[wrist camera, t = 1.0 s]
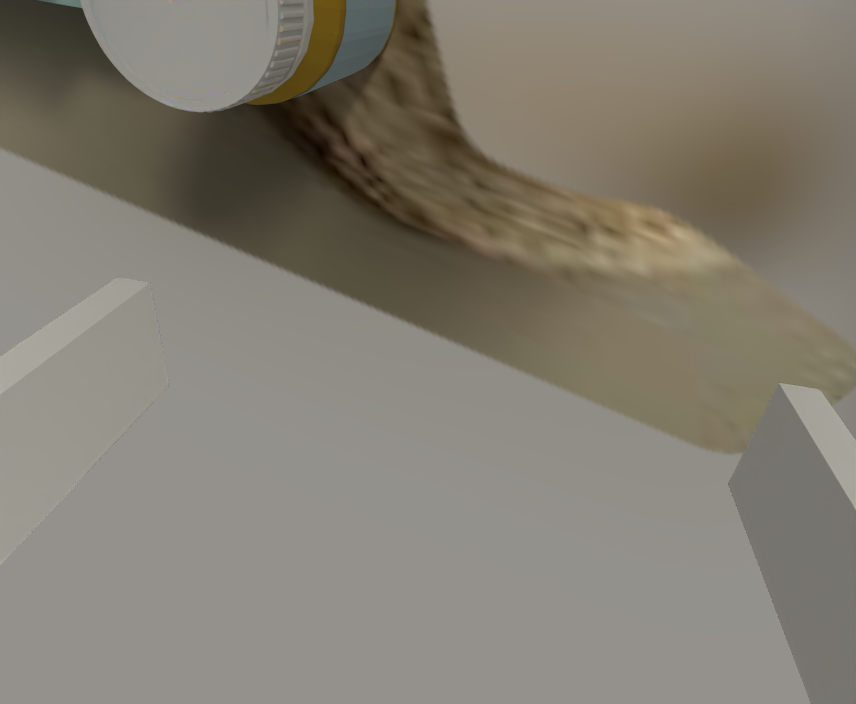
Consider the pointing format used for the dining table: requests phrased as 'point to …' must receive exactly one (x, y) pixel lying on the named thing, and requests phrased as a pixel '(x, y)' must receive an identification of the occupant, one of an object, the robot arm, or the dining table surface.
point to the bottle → (238, 46)
